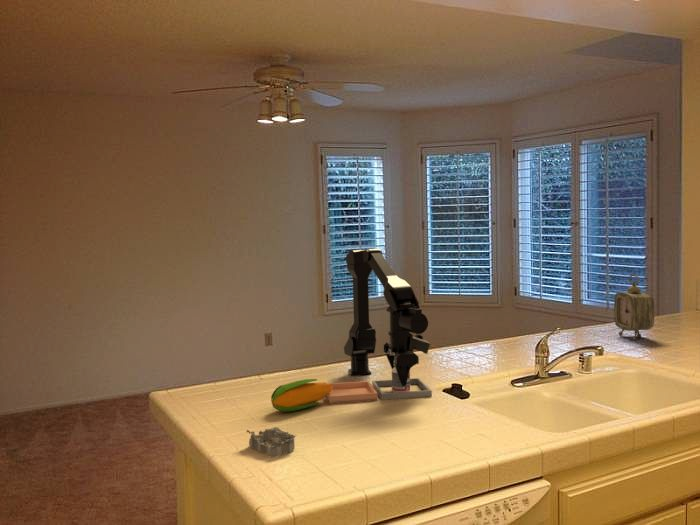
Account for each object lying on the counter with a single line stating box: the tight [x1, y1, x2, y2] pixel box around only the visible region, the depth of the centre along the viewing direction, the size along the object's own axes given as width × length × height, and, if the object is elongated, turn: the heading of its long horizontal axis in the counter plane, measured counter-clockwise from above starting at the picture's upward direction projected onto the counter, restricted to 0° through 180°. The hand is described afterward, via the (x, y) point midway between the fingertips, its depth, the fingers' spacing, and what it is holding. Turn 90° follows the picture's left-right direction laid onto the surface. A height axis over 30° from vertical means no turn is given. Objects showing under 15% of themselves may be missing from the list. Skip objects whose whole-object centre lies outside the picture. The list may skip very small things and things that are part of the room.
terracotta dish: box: [325, 380, 378, 405], centre depth 184 cm, size 13×13×2 cm
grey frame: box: [371, 377, 433, 400], centre depth 188 cm, size 14×14×2 cm
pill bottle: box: [391, 361, 411, 393], centre depth 187 cm, size 5×5×9 cm
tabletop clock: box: [613, 274, 656, 341], centre depth 255 cm, size 14×9×25 cm, turn 6°
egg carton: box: [246, 426, 298, 457], centre depth 144 cm, size 11×8×4 cm
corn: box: [270, 378, 333, 413], centre depth 174 cm, size 7×8×20 cm
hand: (400, 382), depth 188 cm, fingers open, 7 cm apart
